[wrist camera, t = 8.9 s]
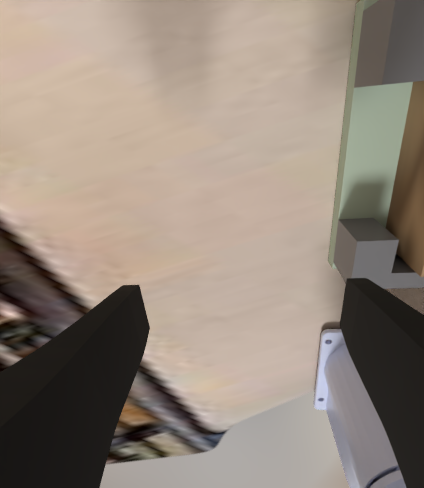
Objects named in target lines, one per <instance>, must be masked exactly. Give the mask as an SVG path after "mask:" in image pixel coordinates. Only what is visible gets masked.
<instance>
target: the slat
mask: <svg viewBox="0 0 424 488" xmlns="http://www.w3.org/2000/svg"><path fill="white" fill-rule="evenodd" d="M386 229H387V230H388V231H389V232H390V233H392V234H393V235H394V236H395V237H396V238H397V239H399V242H398V246H397V251H396V254H397V255H398V256H399V257H400V258H401V259H402V260H403V261H405V262H406V263H407V264H408V265H409V266H410V267H411V268H412V269H413V270H414V271H415V272H416V273H417V274H418V275H419V276H420V277H424V81H416V82H413V86H412V91H411V96H410V101H409V107H408V112H407V117H406V123H405V128H404V133H403V138H402V144H401V149H400V154H399V160H398V165H397V170H396V175H395V181H394V186H393V191H392V197H391V202H390V207H389V213H388V218H387V223H386Z"/></svg>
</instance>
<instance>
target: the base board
mask: <svg viewBox="0 0 424 488" xmlns="http://www.w3.org/2000/svg"><path fill="white" fill-rule="evenodd" d="M377 1H379V0H360V1H359V2H358V3H356V10H355V19H354V28H353V38H352V47H351V56H350V65H349V74H348V83H347V93H346V102H345V111H344V120H343V129H342V138H341V147H340V157H339V166H338V175H337V184H336V193H335V202H334V212H333V221H332V230H331V239H330V248H329V257H328V262H329V264H330V265H331V267H332V269H337V268H336V266H335V264H334V263H333V260H334V252H335V243H336V235H337V227H338V220H339V219H357V218H374V219H375V220H377V221H378V222H379V223H380V224H381V225H382V226H384V227H385V228H386V223H387V218H388V213H389V207H390V202H391V197H392V191H393V186H394V181H395V175H396V170H397V165H398V160H399V154H400V149H401V144H402V138H403V133H404V128H405V123H406V117H407V112H408V107H409V101H410V96H411V91H412V86H413V82H406V83H396V84H386V85H377V86H367V87H357V88H354V84H355V75H356V67H357V58H358V50H359V42H360V33H361V25H362V16H363V11H364V10H366V9H367V8H368V7H370V6H371V5H373V4H374V3H376V2H377Z"/></svg>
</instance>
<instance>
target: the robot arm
mask: <svg viewBox="0 0 424 488" xmlns="http://www.w3.org/2000/svg"><path fill="white" fill-rule="evenodd" d="M340 327H341V329H326V330H324V331H323V332H322V333H321V341H320V350H319V359H318V368H317V377H316V385H315V394H314V407H315V408H316V409H318V410H326V411H327V414H328V417H329V421H330V424H331V428H332V431H333V434H334V438H335V442H336V445H337V448H338V452H339V455H340V459H341V462H342V466H343V469H344V472H345V476H346V479H347V482H348V484H349V487H350V488H424V315H423V314H421V313H420V312H418V311H416V310H415V309H413V308H412V307H410V306H409V305H407V304H406V303H404V302H403V301H401V300H400V299H398V298H397V297H395V296H394V295H392V294H391V293H389V292H388V291H386V290H385V289H383V288H382V287H380V286H379V285H377V284H375V283H374V282H372V281H371V280H369V279H367V278H347V280H346V287H345V294H344V300H343V307H342V314H341V321H340ZM149 329H150V327H149V323H148V319H147V315H146V311H145V307H144V303H143V299H142V295H141V291H140V287H139V285H123V286H121V287H120V288H119V289H117V290H116V291H115V292H113V293H112V294H111V295H109V296H108V297H107V298H106V299H104V300H103V301H102V302H101V303H99V304H98V305H97V306H96V307H94V308H93V309H92V310H90V311H89V312H88V313H87V314H85V315H84V316H83V317H82V318H80V319H79V320H78V321H76V322H75V323H74V324H72V325H71V326H70V327H68V328H67V329H65V330H64V331H63V332H61V333H60V334H59V335H57V336H56V337H54V338H53V339H52V340H50V341H49V342H48V343H46V344H45V345H43V346H42V347H40V348H39V349H37V350H36V351H34V352H33V353H31V354H29V355H28V356H26V357H25V358H23V359H22V360H20V361H18V362H17V363H15V364H14V365H12V366H10V367H9V368H7V369H5V370H3V371H2V372H0V488H99V487H100V483H101V479H102V476H103V471H104V468H105V464H106V460H107V457H108V453H109V450H110V446H111V443H112V439H113V436H114V432H115V429H116V426H117V423H118V420H119V417H120V415H121V412H122V409H123V407H124V404H125V402H126V399H127V396H128V394H129V391H130V389H131V386H132V383H133V381H134V378H135V376H136V373H137V370H138V368H139V365H140V362H141V360H142V357H143V354H144V350H145V346H146V342H147V338H148V334H149ZM326 340H328V341H326Z"/></svg>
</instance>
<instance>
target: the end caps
mask: <svg viewBox="0 0 424 488" xmlns="http://www.w3.org/2000/svg"><path fill="white" fill-rule="evenodd" d="M416 81H424V0H379V1H377V2H376V3H374V4H373V5H371V6H370V7H368V8H367V9H366V10H364V11H363V16H362V25H361V33H360V42H359V50H358V58H357V67H356V75H355V84H354V88H357V87H367V86H377V85H386V84H396V83H406V82H416ZM398 242H399V239H397V238H396V237H395V236H394V235H393V234H392V233H390V232H389V231H388V230H387V229H386V228H385V227H384V226H382V225H381V224H380V223H379V222H378V221H377V220H375V219H374V218H357V219H339V220H338V227H337V235H336V243H335V252H334V260H333V263H334V264H335V266H336V268H337V269H338V271H339V273H340V274H341V276H342V278H343V279H344V281H345V283H346V280H347V278H367V279H369V280H371V281H372V282H374V283H375V284H377V285H379V286H380V287H382V288H383V289H397V288H424V277H420V276H419V275H418V274H417V273H416V272H415V271H414V270H413V269H412V268H411V267H410V266H409V265H408V264H407V263H406V262H405V261H403V260H402V259H401V258H400V257H399V256H398V255H397V254H396V251H397V246H398Z"/></svg>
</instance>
